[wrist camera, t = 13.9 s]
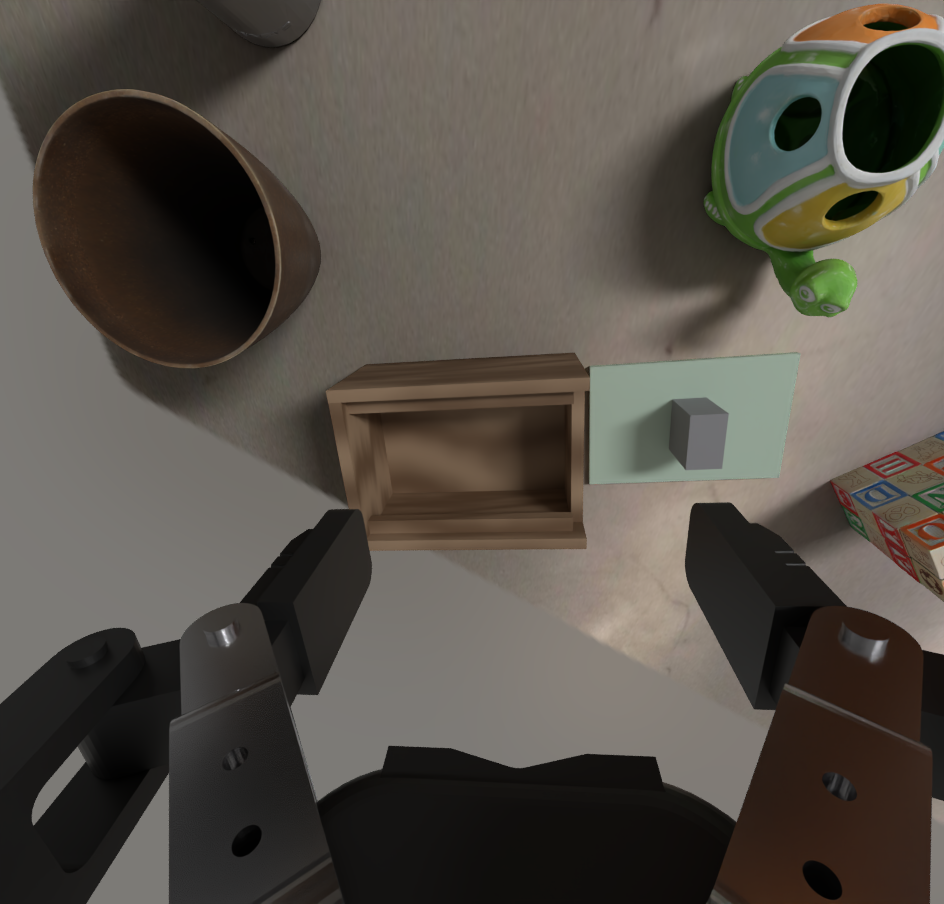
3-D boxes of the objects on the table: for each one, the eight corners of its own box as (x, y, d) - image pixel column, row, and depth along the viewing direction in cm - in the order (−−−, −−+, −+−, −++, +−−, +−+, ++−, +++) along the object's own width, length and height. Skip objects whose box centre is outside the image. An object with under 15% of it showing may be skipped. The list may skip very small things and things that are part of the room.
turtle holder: (689, 315, 41) (751, 335, 30) (706, 63, 34) (793, -32, 23) (842, 301, 39) (968, 316, 28) (891, 33, 33) (1079, -84, 22)
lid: (588, 364, 44) (598, 380, 38) (792, 351, 42) (836, 365, 36) (587, 479, 48) (596, 508, 42) (772, 472, 46) (808, 502, 40)
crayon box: (366, 364, 45) (325, 390, 36) (574, 352, 43) (589, 377, 33) (387, 497, 51) (357, 550, 41) (573, 493, 48) (586, 548, 39)
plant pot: (347, 144, 38) (240, 69, 24) (376, 328, 44) (303, 361, 29) (182, 165, 40) (-14, 108, 25) (230, 339, 46) (91, 375, 31)
